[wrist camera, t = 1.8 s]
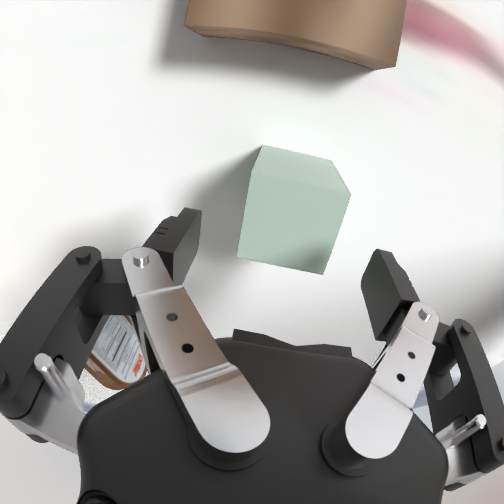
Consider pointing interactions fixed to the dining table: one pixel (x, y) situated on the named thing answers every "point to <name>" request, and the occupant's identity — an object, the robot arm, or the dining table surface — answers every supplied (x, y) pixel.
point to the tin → (117, 355)
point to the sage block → (292, 210)
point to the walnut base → (308, 25)
